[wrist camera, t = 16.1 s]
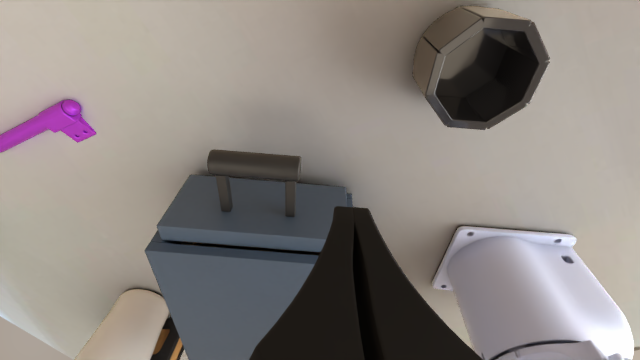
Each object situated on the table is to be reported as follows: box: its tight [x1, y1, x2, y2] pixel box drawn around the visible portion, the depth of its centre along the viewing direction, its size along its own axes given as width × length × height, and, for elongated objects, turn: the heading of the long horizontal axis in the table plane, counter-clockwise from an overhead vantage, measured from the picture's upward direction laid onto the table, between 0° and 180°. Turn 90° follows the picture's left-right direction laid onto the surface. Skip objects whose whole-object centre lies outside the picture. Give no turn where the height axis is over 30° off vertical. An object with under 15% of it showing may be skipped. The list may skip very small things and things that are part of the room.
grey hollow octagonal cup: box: [412, 6, 550, 130], centre depth 16 cm, size 5×5×4 cm
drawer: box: [157, 150, 347, 255], centre depth 23 cm, size 18×11×5 cm, turn 176°
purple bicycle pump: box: [0, 100, 96, 152], centre depth 23 cm, size 3×1×16 cm
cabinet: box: [145, 193, 353, 360], centre depth 25 cm, size 14×12×7 cm
